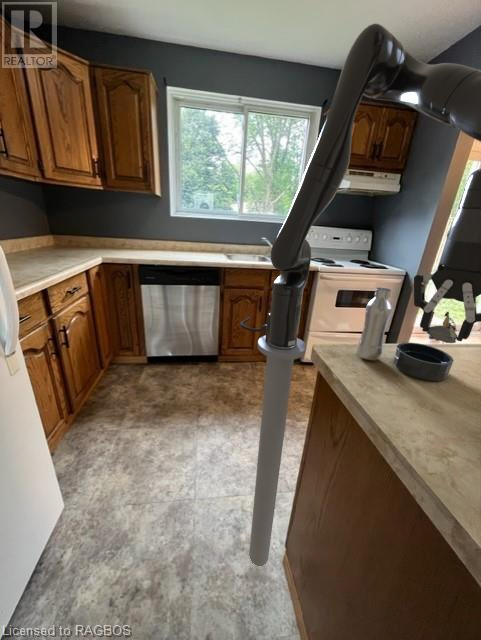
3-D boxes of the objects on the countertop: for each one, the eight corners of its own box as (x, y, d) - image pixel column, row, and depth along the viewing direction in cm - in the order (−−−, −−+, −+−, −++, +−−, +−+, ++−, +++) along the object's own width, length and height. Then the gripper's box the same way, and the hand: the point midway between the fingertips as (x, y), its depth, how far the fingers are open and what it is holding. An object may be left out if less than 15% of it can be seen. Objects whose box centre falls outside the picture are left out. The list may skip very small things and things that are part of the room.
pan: (386, 368, 72) (390, 351, 70) (400, 354, 80) (404, 338, 79) (442, 388, 64) (448, 370, 62) (451, 370, 72) (457, 353, 71)
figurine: (419, 336, 53) (428, 306, 51) (439, 335, 53) (449, 306, 51) (442, 348, 48) (453, 316, 46) (463, 347, 48) (475, 316, 46)
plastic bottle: (368, 351, 81) (384, 286, 74) (385, 362, 75) (404, 292, 68) (350, 353, 79) (364, 286, 72) (365, 364, 73) (382, 292, 66)
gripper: (536, 243, 42) (493, 343, 48) (429, 236, 51) (405, 319, 57) (537, 245, 37) (489, 355, 43) (419, 236, 46) (393, 327, 52)
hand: (441, 334), depth 50 cm, fingers closed on figurine, 4 cm apart
